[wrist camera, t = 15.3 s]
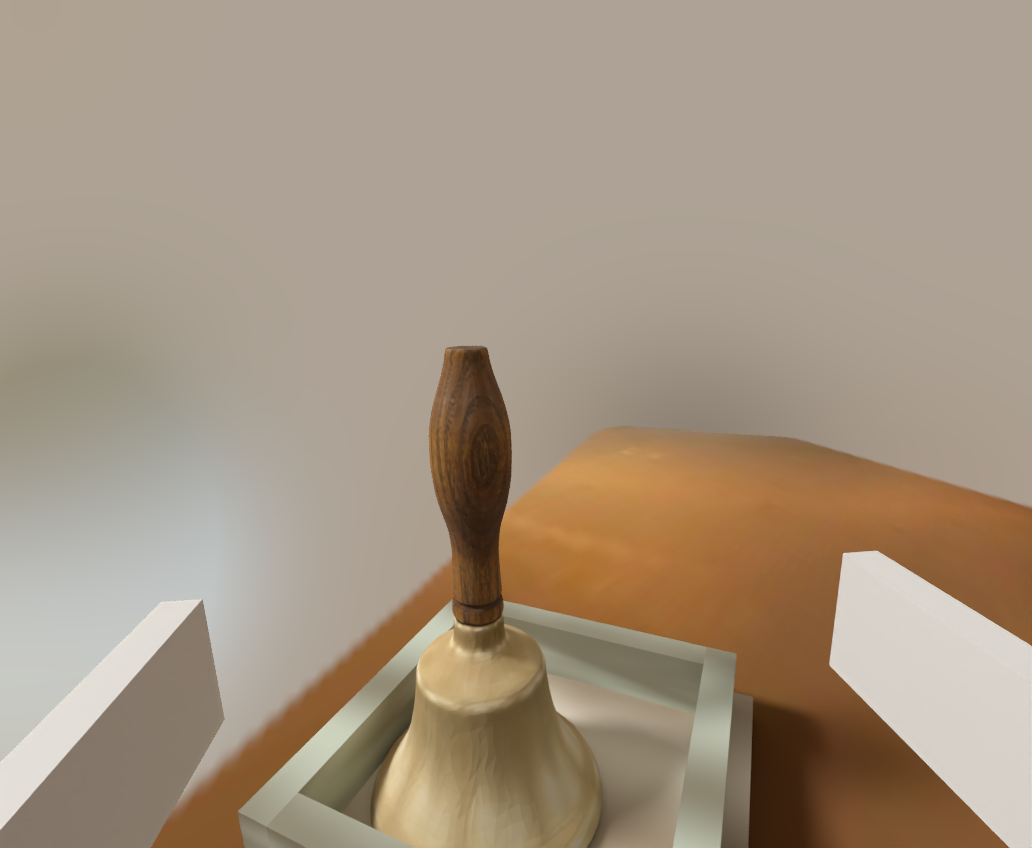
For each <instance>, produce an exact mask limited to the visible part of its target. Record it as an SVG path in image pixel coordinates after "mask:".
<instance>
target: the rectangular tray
mask: <svg viewBox="0 0 1032 848" xmlns="http://www.w3.org/2000/svg"><path fill="white" fill-rule="evenodd" d="M452 601H453V599H452V600H451V601H450V602H449V603H448V604H447V605H446V606H445V607H444V608H443V609H442V610H441V611H440V612H439V613H438V614H437V615H436V616H435V617H434V618H433V619H432V620H431V621H430V622H429V623H428V624H427V625H426V626H425V627H424V628H423V629H422V630H421V631H420V632H419V633H418V634H417V635H416V636H415V637H414V638H413V639H412V640H411V641H410V642H409V643H408V644H407V645H406V646H405V647H404V648H403V649H402V650H401V651H400V652H399V653H398V654H397V655H395V656H394V657H393V658H392V659H391V660H390V661H389V662H388V663H387V664H386V665H385V666H384V667H383V668H382V669H381V670H380V671H379V672H378V673H377V674H376V675H375V676H374V677H373V678H372V679H371V680H370V681H369V682H368V683H367V684H366V685H365V686H364V687H363V688H362V689H361V690H360V691H359V692H358V693H357V694H356V695H355V696H354V697H353V698H352V699H351V700H350V701H349V702H348V703H347V704H346V705H345V706H344V707H343V708H342V709H341V710H340V711H339V712H338V713H337V714H336V715H335V716H334V717H333V718H332V719H331V720H330V721H329V722H328V723H327V724H326V725H325V726H324V727H323V728H322V729H321V730H320V731H319V732H318V733H317V734H316V735H315V736H314V737H313V738H312V739H311V740H310V741H309V742H308V743H307V744H305V745H304V746H303V747H302V748H301V749H300V750H299V751H298V752H297V753H296V754H295V755H294V756H293V757H292V758H291V759H290V760H289V761H288V762H287V763H286V764H285V765H284V766H283V767H282V768H281V769H280V770H279V771H278V772H277V773H276V774H275V775H274V776H273V777H272V778H271V779H270V780H269V781H268V782H267V783H266V784H265V785H264V786H263V787H262V788H261V789H260V790H259V791H258V792H257V793H256V794H255V795H254V796H253V797H252V798H251V799H250V800H249V801H248V802H247V803H246V804H245V805H244V806H243V807H242V808H241V809H240V810H239V811H238V816H239V821H240V827H241V832H242V837H243V843H244V848H414V847H412V846H410V845H408V844H405V843H403V842H401V841H399V840H397V839H395V838H393V837H391V836H389V835H386V834H384V833H382V832H380V831H378V830H376V829H374V828H372V825H371V797H372V792H373V788H374V784H375V780H376V777H377V775H378V772H379V770H380V768H381V765H382V763H383V761H384V759H385V757H386V755H387V754H388V752H389V750H390V749H391V747H392V746H393V744H394V743H395V742H396V740H397V739H398V738H399V737H400V736H401V735H402V734H403V733H404V732H405V730H406V729H407V728H408V727H409V726H410V724H411V721H412V715H413V710H414V702H415V691H416V670H417V665H418V662H419V659H420V657H421V655H422V654H423V652H424V650H425V649H426V648H427V647H428V646H429V645H430V644H431V643H432V642H433V641H434V640H435V639H436V638H437V637H439V636H440V635H442V634H444V633H446V632H448V631H449V630H451V629H454V614H453V612H452ZM503 603H504V609H503V612H502V613H503V618H504V624H506V625H510V626H513V627H516V628H518V629H520V630H522V631H524V632H525V633H527V634H528V635H530V636H531V637H532V638H533V639H534V640H535V641H536V642H537V644H538V645H539V647H540V648H541V650H542V652H543V655H544V658H545V662H546V671H547V677H548V683H549V688H550V693H551V697H552V701H553V704H554V707H555V709H556V711H557V712H558V713H560V714H561V715H562V716H564V717H565V718H566V719H567V720H568V721H570V722H571V723H572V724H573V725H574V726H575V728H576V729H577V730H578V731H579V732H580V734H581V735H582V736H583V738H584V739H585V741H586V742H587V744H588V746H589V747H590V749H591V751H592V753H593V755H594V757H595V760H596V762H597V765H598V768H599V772H600V776H601V782H602V807H601V814H600V818H599V822H598V826H597V829H596V831H595V834H594V836H593V838H592V840H591V842H590V843H589V845H588V847H587V848H748V840H749V810H750V780H751V750H752V719H753V697H751V696H748V695H744V694H740V693H736V692H734V680H735V667H736V654H735V653H731V652H726V651H722V650H717V649H713V648H709V647H704V646H700V645H695V644H691V643H687V642H682V641H678V640H674V639H669V638H665V637H660V636H656V635H652V634H647V633H643V632H638V631H634V630H630V629H625V628H621V627H617V626H612V625H608V624H603V623H599V622H595V621H590V620H586V619H581V618H577V617H573V616H568V615H564V614H560V613H555V612H551V611H546V610H542V609H538V608H533V607H529V606H524V605H520V604H516V603H511V602H507V601H503Z"/></svg>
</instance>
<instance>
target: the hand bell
mask: <svg viewBox="0 0 1032 848" xmlns="http://www.w3.org/2000/svg"><path fill="white" fill-rule="evenodd" d="M429 451H430V464H431V472H432V478H433V484H434V489H435V493H436V497H437V500H438V504H439V506H440V509H441V512H442V514H443V517H444V519H445V522H446V525H447V528H448V531H449V535H450V540H451V547H452V566H453V578H452V583H453V596H454V597H453V601H452V612H453V614H454V629H451V630H449V631H448V632H446V633H444V634H442V635H440V636H439V637H437V638H436V639H435V640H434V641H433V642H432V643H431V644H430V645H429V646H428V647H427V648H426V649H425V650H424V652H423V654H422V655H421V657H420V659H419V662H418V665H417V670H416V691H415V702H414V710H413V715H412V721H411V724H410V726H409V727H408V728H407V729H406V730H405V732H404V733H403V734H402V735H401V736H400V737H399V738H398V739H397V740H396V742H395V743H394V744H393V746H392V747H391V749H390V750H389V752H388V754H387V755H386V757H385V759H384V761H383V763H382V765H381V768H380V770H379V772H378V775H377V777H376V780H375V784H374V788H373V792H372V797H371V825H372V828H374V829H376V830H378V831H380V832H382V833H384V834H386V835H389V836H391V837H393V838H395V839H397V840H399V841H401V842H403V843H405V844H408V845H410V846H412V847H414V848H587V847H588V845H589V843H590V842H591V840H592V838H593V836H594V834H595V831H596V829H597V826H598V822H599V818H600V814H601V807H602V782H601V776H600V772H599V768H598V765H597V762H596V760H595V757H594V755H593V753H592V751H591V749H590V747H589V746H588V744H587V742H586V741H585V739H584V738H583V736H582V735H581V734H580V732H579V731H578V730H577V729H576V728H575V726H574V725H573V724H572V723H571V722H570V721H568V720H567V719H566V718H565V717H564V716H562V715H561V714H560V713H558V712H557V711H556V709H555V707H554V704H553V701H552V697H551V693H550V688H549V683H548V677H547V671H546V662H545V658H544V655H543V652H542V650H541V648H540V647H539V645H538V644H537V642H536V641H535V640H534V639H533V638H532V637H531V636H530V635H528V634H527V633H525V632H524V631H522V630H520V629H518V628H516V627H513V626H510V625H506V624H504V618H503V613H502V612H503V609H504V603H503V598H502V595H501V591H502V586H501V576H500V565H499V550H498V548H499V533H500V526H501V522H502V518H503V515H504V511H505V508H506V504H507V499H508V494H509V488H510V481H511V462H512V460H511V458H512V454H511V453H512V451H511V431H510V425H509V419H508V415H507V411H506V407H505V404H504V401H503V398H502V395H501V392H500V390H499V387H498V385H497V382H496V379H495V376H494V374H493V370H492V367H491V364H490V360H489V355H488V350H487V348H486V347H483V346H457V347H449V348H446V350H445V355H444V363H443V368H442V373H441V377H440V381H439V384H438V388H437V392H436V395H435V399H434V403H433V407H432V412H431V419H430V427H429Z"/></svg>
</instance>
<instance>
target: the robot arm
mask: <svg viewBox="0 0 1032 848" xmlns="http://www.w3.org/2000/svg"><path fill="white" fill-rule="evenodd" d="M829 665H830V666H831V667H832V668H833V669H834V670H835V671H836V672H837V673H838V674H839V675H840V676H841V678H842V679H843V680H844V681H845V682H846V683H847V684H848V685H849V686H850V687H851V688H852V689H853V690H854V691H855V692H856V693H857V694H858V695H859V696H860V697H861V698H862V699H863V700H864V701H865V702H866V703H867V704H868V705H869V706H870V707H871V708H872V709H873V710H874V711H875V712H876V713H877V714H878V715H879V716H880V717H881V718H882V719H883V720H884V721H885V722H886V723H887V724H888V725H889V726H890V727H891V728H892V729H893V730H894V731H895V732H896V733H897V734H898V735H899V736H900V737H901V738H902V739H903V740H904V741H905V742H906V743H907V744H908V745H909V746H910V747H911V748H912V749H913V750H914V751H915V752H916V753H917V754H918V755H919V756H920V757H921V758H922V759H923V760H924V762H925V763H926V764H927V765H928V766H929V767H930V768H931V769H932V770H933V771H934V772H935V773H936V774H937V775H938V776H939V777H940V778H941V779H942V780H943V781H944V782H945V783H946V784H947V785H948V786H949V787H950V788H951V789H952V790H953V791H954V792H955V793H956V794H957V795H958V796H959V797H960V798H961V799H962V800H963V801H964V802H965V803H966V804H967V805H968V806H969V807H970V808H971V809H972V810H973V811H974V812H975V813H976V814H977V815H978V816H979V817H980V818H981V819H982V820H983V821H984V822H985V823H986V824H987V825H988V826H989V827H990V828H991V829H992V830H993V831H994V832H995V833H996V834H997V835H998V836H999V837H1000V838H1001V839H1002V840H1003V841H1004V842H1005V843H1006V845H1007V846H1008V847H1009V848H1032V646H1031V645H1029V644H1027V643H1026V642H1024V641H1023V640H1021V639H1019V638H1018V637H1016V636H1014V635H1013V634H1011V633H1010V632H1008V631H1006V630H1005V629H1003V628H1001V627H1000V626H998V625H997V624H995V623H993V622H992V621H990V620H988V619H987V618H985V617H984V616H982V615H980V614H979V613H977V612H975V611H974V610H972V609H971V608H969V607H967V606H966V605H964V604H962V603H961V602H959V601H958V600H956V599H954V598H953V597H951V596H949V595H948V594H946V593H945V592H943V591H941V590H940V589H938V588H937V587H935V586H933V585H932V584H930V583H928V582H927V581H925V580H924V579H922V578H920V577H919V576H917V575H915V574H914V573H912V572H911V571H909V570H907V569H906V568H904V567H902V566H901V565H899V564H898V563H896V562H894V561H893V560H891V559H889V558H888V557H886V556H885V555H883V554H881V553H880V552H878V551H867V552H853V553H843V559H842V567H841V575H840V584H839V592H838V600H837V608H836V616H835V624H834V632H833V640H832V648H831V656H830V664H829ZM223 721H224V714H223V709H222V703H221V698H220V692H219V687H218V682H217V676H216V670H215V665H214V659H213V654H212V649H211V643H210V638H209V632H208V627H207V621H206V616H205V610H204V605H203V600H202V599H197V600H182V601H168V602H161V603H160V604H159V605H158V606H157V607H156V608H155V609H153V610H152V612H150V614H148V616H146V617H145V618H144V619H143V621H141V623H140V624H138V625H137V626H136V628H134V630H132V631H131V632H130V633H129V634H128V635H127V636H126V637H125V638H124V640H122V641H121V643H119V645H117V646H116V647H115V648H114V649H113V650H112V651H111V652H110V653H109V655H107V656H106V657H105V658H104V660H102V661H101V662H100V663H99V664H98V665H97V666H96V667H95V668H94V670H92V671H91V672H90V673H89V674H88V675H87V676H86V677H85V678H84V679H83V680H82V681H81V682H80V683H79V684H78V685H77V686H76V687H75V688H74V689H73V690H72V691H71V692H70V693H69V694H68V695H67V696H66V697H65V698H64V700H62V701H61V702H60V703H59V704H58V705H57V706H56V707H55V708H54V709H53V710H52V711H51V712H50V713H49V714H48V715H47V716H46V717H45V718H44V719H43V720H42V721H41V722H40V723H39V724H38V725H37V726H36V727H35V728H34V729H33V730H32V731H31V732H30V733H29V734H28V735H27V736H26V737H25V738H24V739H23V740H22V741H21V742H20V743H19V744H18V745H17V746H16V747H15V748H14V749H13V750H12V751H11V752H10V753H9V754H8V755H7V756H6V757H5V758H4V759H3V760H2V761H1V762H0V848H151V846H152V845H153V843H154V841H155V839H156V838H157V836H158V834H159V832H160V831H161V829H162V827H163V825H164V824H165V822H166V820H167V818H168V817H169V815H170V813H171V811H172V810H173V808H174V806H175V805H176V803H177V801H178V799H179V798H180V796H181V794H182V792H183V791H184V789H185V787H186V785H187V784H188V782H189V780H190V778H191V777H192V775H193V773H194V771H195V770H196V768H197V766H198V764H199V763H200V761H201V759H202V757H203V756H204V754H205V752H206V750H207V749H208V747H209V745H210V743H211V742H212V740H213V738H214V737H215V735H216V733H217V731H218V730H219V728H220V726H221V724H222V723H223Z"/></svg>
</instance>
